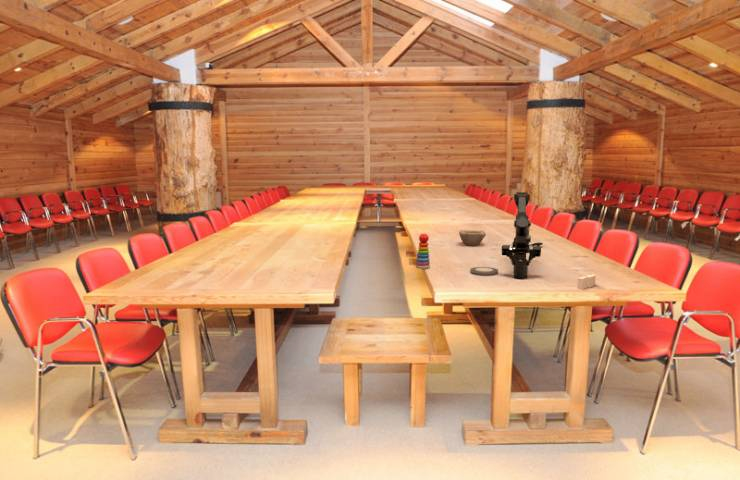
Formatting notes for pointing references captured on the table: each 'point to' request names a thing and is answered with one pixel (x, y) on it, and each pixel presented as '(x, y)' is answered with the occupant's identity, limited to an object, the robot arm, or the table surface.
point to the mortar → (471, 237)
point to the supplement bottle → (520, 266)
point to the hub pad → (484, 271)
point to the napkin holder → (586, 281)
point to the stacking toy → (423, 253)
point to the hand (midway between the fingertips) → (520, 265)
